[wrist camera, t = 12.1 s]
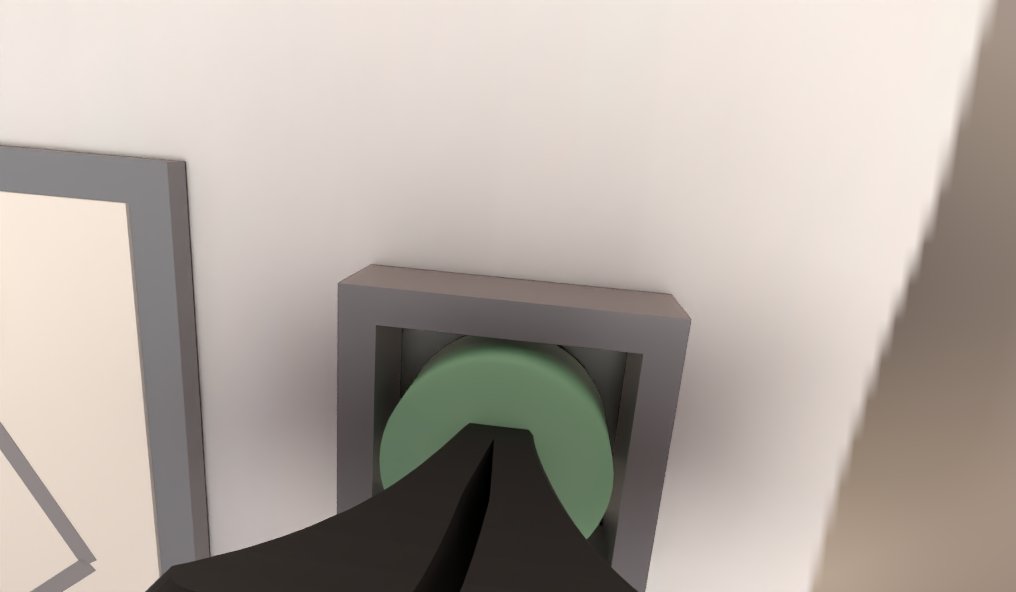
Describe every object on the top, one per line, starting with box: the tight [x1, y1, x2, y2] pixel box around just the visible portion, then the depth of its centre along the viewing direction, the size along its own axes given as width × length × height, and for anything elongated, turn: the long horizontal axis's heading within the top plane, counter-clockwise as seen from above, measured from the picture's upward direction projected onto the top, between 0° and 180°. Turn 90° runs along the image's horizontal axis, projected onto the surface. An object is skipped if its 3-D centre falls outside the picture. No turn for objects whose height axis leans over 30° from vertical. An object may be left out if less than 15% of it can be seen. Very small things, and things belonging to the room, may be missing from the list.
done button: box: [379, 335, 614, 539], centre depth 12 cm, size 5×5×2 cm
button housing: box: [337, 265, 691, 592], centre depth 13 cm, size 7×7×2 cm
